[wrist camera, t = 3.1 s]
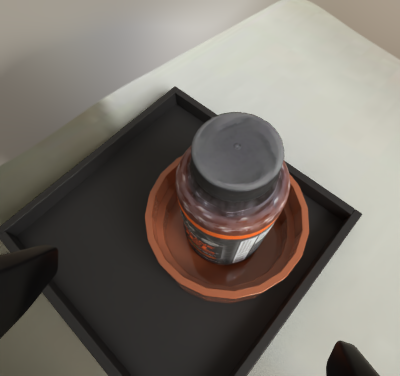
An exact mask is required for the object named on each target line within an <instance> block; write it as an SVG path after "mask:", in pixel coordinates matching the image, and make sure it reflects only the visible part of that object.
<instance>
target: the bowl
mask: <svg viewBox="0 0 400 376" xmlns="http://www.w3.org/2000/svg"><path fill="white" fill-rule="evenodd" d="M181 158H182V156H181V157H179V158H177V159H176V160H175V161H174V162H173V163H172V164H171V165H170V166H169V167H167V168H166V169H165V170H164V171H163V172H162V173H161V174H160V176H159V178H158V179H157V181H156V183H155V185H154V186H153V188H152V190H151V191H150V194H149V198H148V203H147V208H146V212H145V222H146V230H147V238H148V242H149V244H150V246H151V248H152V250H153V252H154V254H155V256H156V258H157V260H158V262H159V264H160V265H161V267H162V268H163V269H164V270H165V272H166V273H167V274H168V275H169V276H170V277H171V278H172V279H173V280H174V281H175V282H176V283H177V284H178V285H179V286H180V287H181V288H182V289H183V290H184V291H186V292H188V293H190V294H192V295H194V296H196V297H198V298H201V299H203V300H205V301H210V302H218V303H227V304H232V303H236V302H241V301H245V300H250V299H253V298H255V297H257V296H259V295H260V294H262V293H263V292H265V291H266V290H268V289H270V288H271V287H273V286H274V285H276V284H277V283H279V282H280V281H282V280H283V279H285V278H286V277H287V276H288V274H289V273H290V272H291V270H292V269H293V268H294V267H295V265H296V264H297V263H298V261H299V260H300V259H301V257H302V255H303V252H304V248H305V245H306V241H307V238H308V235H309V219H308V207H307V204H306V202H305V199H304V197H303V194H302V192H301V189H300V187H299V186H298V184H297V182H296V181H295V180H294V179H293V177H292V176H291V175H290V174H289V176H290V190H289V196H288V199H287V201H286V204H285V206H284V208H283V210H282V212H281V213H280V215H279V216H278V218H277V219H276V221H275V222H274V224H273V226H272V227H271V229H270V230H269V232H268V233H267V235H266V236H265V238H264V239H263V241H262V242H261V244H260V245H259V247H258V248H257V250H256V251H255V252H254V253H253V254H252V255H251V256H250V257H249V258H248V259H246V260H244V261H242V262H240V263H237V264H233V265H217V264H213V263H210V262H208V261H206V260H204V259H203V258H201V257H200V256H199V255H198V254H196V252H195V251H194V250H193V249H192V247H191V246H190V244H189V242H188V240H187V237H186V234H185V229H184V226H183V220H182V216H181V212H180V208H179V204H178V199H177V194H176V186H175V181H176V180H175V178H176V170H177V167H178V165H179V162H180V160H181Z"/></svg>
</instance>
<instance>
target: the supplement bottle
mask: <svg viewBox="0 0 400 376" xmlns="http://www.w3.org/2000/svg"><path fill="white" fill-rule="evenodd" d="M175 180H176V181H175V186H176V194H177V199H178V204H179V208H180V212H181V216H182V220H183V226H184V229H185V234H186V237H187V240H188V242H189V244H190V246H191V247H192V249H193V250H194V251H195V252H196V254H198V255H199V256H200V257H201V258H203V259H204V260H206V261H208V262H210V263H213V264H217V265H233V264H237V263H240V262H242V261H244V260H246V259H248V258H249V257H250V256H251V255H252V254H253V253H254V252H255V251H256V250H257V248H258V247H259V245H260V244H261V242H262V241H263V239H264V238H265V236H266V235H267V233H268V232H269V230H270V229H271V227H272V226H273V224H274V222H275V221H276V219H277V218H278V216H279V215H280V213H281V212H282V210H283V208H284V206H285V204H286V201H287V199H288V196H289V190H290V176H289V171H288V168H287V166H286V163H285V161H284V147H283V143H282V139H281V138H280V136H279V134H278V132H277V131H276V130H275V128H274V127H272V125H271V124H270V123H268V122H267V121H265V120H263V119H262V118H260V117H258V116H255V115H252V114H248V113H241V112H230V113H224V114H220V115H218V116H215V117H213V118H211V119H210V120H208V121H206V122H205V123H204V124H203V125H202V126H201V127H200V128H199V129H198V131H197V132H196V134H195V136H194V138H193V141H192V145H191V146H190V147H189V148H188V149H187V150H186V152H185V153H184V154H183V156H182V158H181V160H180V162H179V165H178V167H177V170H176V178H175Z"/></svg>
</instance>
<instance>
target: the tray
mask: <svg viewBox="0 0 400 376" xmlns="http://www.w3.org/2000/svg"><path fill="white" fill-rule="evenodd" d="M215 116H218V115H216V114H215V113H214V112H212V111H211V110H209V109H208V108H206V107H205V106H203V105H202V104H200V103H199V102H197V101H196V100H194V99H193V98H192V97H190V96H189V95H187V94H186V93H184V92H183V91H181V90H179V89H178V88H177V87H173V88H172V89H171V90H170V91H168V92H167V93H166V94H165V95H163V96H162V97H161V98H160V99H158V100H157V101H156V102H155V103H153V104H152V105H151V106H150V107H148V108H147V109H146V110H145V111H143V112H142V113H141V114H140V115H138V116H137V117H136V118H135V119H133V120H132V121H131V122H130V123H128V124H127V125H126V126H125V127H123V128H122V129H121V130H120V131H118V132H117V133H116V134H115V135H114V136H112V137H111V138H110V139H109V140H107V141H106V142H105V143H104V144H102V145H101V146H100V147H99V148H97V149H96V150H95V151H94V152H92V153H91V154H90V155H89V156H87V157H86V158H85V159H84V160H82V161H81V162H80V163H79V164H77V165H76V166H75V167H74V168H72V169H71V170H70V171H69V172H67V173H66V174H65V175H64V176H62V177H61V178H60V179H59V180H57V181H56V182H55V183H54V184H52V185H51V186H50V187H49V188H47V189H46V190H45V191H44V192H42V193H41V194H40V195H39V196H37V197H36V198H35V199H34V200H32V201H31V202H30V203H29V204H27V205H26V206H25V207H24V208H22V209H21V210H20V211H19V212H17V213H16V214H15V215H14V216H12V217H11V218H10V219H9V220H7V221H6V222H5V223H4V224H2V225H1V226H0V240H1V241H2V242H3V244H4V245H5V246H6V248H7V249H8V250H9V251H10V253H11V252H15V251H19V250H23V249H28V248H32V247H36V246H40V245H45V244H47V245H50V246H53V247H56V248H57V249H58V270H57V273H56V275H55V276H54V278H53V279H52V280H51V281H50V283H49V284H48V285H47V286H46V288H45V289H44V290H43V291H42V293H43V294H44V295H45V297H46V298H47V299H48V300H49V302H50V303H51V304H52V305H53V307H54V308H55V309H56V310H57V312H58V313H59V314H60V315H61V317H62V318H63V319H64V320H65V322H66V323H67V324H68V325H69V327H70V328H71V329H72V331H73V332H74V333H75V334H76V336H77V337H78V338H79V339H80V341H81V342H82V343H83V344H84V346H85V347H86V348H87V349H88V351H89V352H90V353H91V354H92V356H93V357H94V358H95V359H96V361H97V362H98V363H99V364H100V366H101V367H102V368H103V369H104V371H105V372H106V373H107V375H108V376H247V375H248V374H249V372H250V371H251V370H252V368H253V367H254V365H255V364H256V363H257V361H258V360H259V358H260V357H261V356H262V354H263V353H264V351H265V350H266V349H267V347H268V346H269V344H270V343H271V342H272V340H273V339H274V337H275V336H276V335H277V333H278V332H279V330H280V329H281V328H282V326H283V325H284V323H285V322H286V321H287V319H288V318H289V316H290V315H291V313H292V312H293V311H294V309H295V308H296V306H297V305H298V304H299V302H300V301H301V299H302V298H303V297H304V295H305V294H306V292H307V291H308V290H309V288H310V287H311V285H312V284H313V283H314V281H315V280H316V278H317V277H318V276H319V274H320V273H321V271H322V270H323V269H324V267H325V266H326V264H327V263H328V262H329V260H330V259H331V257H332V256H333V255H334V253H335V252H336V250H337V249H338V248H339V246H340V245H341V243H342V242H343V241H344V239H345V238H346V236H347V235H348V234H349V232H350V231H351V229H352V228H353V227H354V225H355V224H356V222H357V221H358V220H359V218H360V217H361V215H362V214H361V213H360V212H359V211H357V210H355V209H354V208H353V207H351V206H350V205H348V204H347V203H345V202H344V201H342V200H341V199H339V198H338V197H337V196H335V195H334V194H332V193H331V192H329V191H328V190H326V189H325V188H323V187H322V186H320V185H319V184H318V183H316V182H315V181H313V180H312V179H310V178H309V177H307V176H306V175H304V174H303V173H301V172H300V171H298V170H297V169H296V168H294V167H293V166H291V165H290V164H288V163H287V162H285V163H286V166H287V168H288V171H289V174H290V175H291V176H292V177H293V179H294V180H295V181H296V182H297V184H298V186H299V187H300V189H301V192H302V194H303V197H304V199H305V202H306V204H307V207H308V219H309V235H308V238H307V241H306V245H305V248H304V252H303V255H302V257H301V259H300V260H299V261H298V263H297V264H296V265H295V267H294V268H293V269H292V270H291V272H290V273H289V274H288V276H287V277H286V278H285V279H283V280H282V281H280V282H279V283H277V284H276V285H274V286H273V287H271V288H270V289H268V290H266V291H265V292H263V293H262V294H260V295H259V296H257V297H255V298H253V299H250V300H245V301H241V302H236V303H232V304H227V303H218V302H210V301H205V300H203V299H201V298H198V297H196V296H194V295H192V294H190V293H188V292H186V291H184V290H183V289H182V288H181V287H180V286H179V285H178V284H177V283H176V282H175V281H174V280H173V279H172V278H171V277H170V276H169V275H168V274H167V273H166V272H165V270H164V269H163V268H162V267H161V265H160V264H159V262H158V260H157V258H156V256H155V254H154V252H153V250H152V248H151V246H150V244H149V242H148V238H147V230H146V222H145V212H146V208H147V203H148V198H149V194H150V191H151V190H152V188H153V186H154V185H155V183H156V181H157V179H158V178H159V176H160V174H161V173H162V172H163V171H164V170H165V169H166V168H167V167H169V166H170V165H171V164H172V163H173V162H174V161H175V160H176V159H177V158H179V157H181V156H183V154H184V153H185V152H186V150H187V149H188V148H189V147H190V146H191V145H192V141H193V138H194V136H195V134H196V132H197V131H198V129H199V128H200V127H201V126H202V125H203V124H204V123H205V122H206V121H208V120H210V119H211V118H213V117H215Z"/></svg>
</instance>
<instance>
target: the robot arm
mask: <svg viewBox="0 0 400 376" xmlns="http://www.w3.org/2000/svg"><path fill="white" fill-rule="evenodd" d="M57 270H58V249H57V248H56V247H53V246H50V245H47V244H45V245H40V246H36V247H32V248H28V249H23V250H19V251H15V252H11V253H7V254H3V255H0V339H1V338H2V336H3V335H4V334H5V333H6V332H7V331H8V330H9V329H10V328H11V327H12V326H13V325H14V324H15V323H16V322H17V321H18V320H19V319H20V318H21V317H22V316H23V314H24V313H25V312H26V311H27V310H28V309H29V307H30V306H31V305H32V304H33V302H34V301H35V300H36V299H37V297H38V296H39V295H40V294H41V292H42V291H43V290H44V289H45V288H46V286H47V285H48V284H49V283H50V281H51V280H52V279H53V278H54V276H55V275H56V273H57ZM326 374H327V376H380V375H379V374H378V373H377V372H376V371H375V370H374V368H373V367H372V366H371V365H370V364H369V362H368V361H367V360H366V359H365V358H364V356H363V355H362V354H361V353H360V352H359V350H358V349H357V348H356V347H355V346H354V345H352V344H349V343H346V342H343V341H338V342H337V343H336V344H335V346H334V348H333V350H332V353H331V355H330V357H329V359H328V361H327V366H326Z"/></svg>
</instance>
